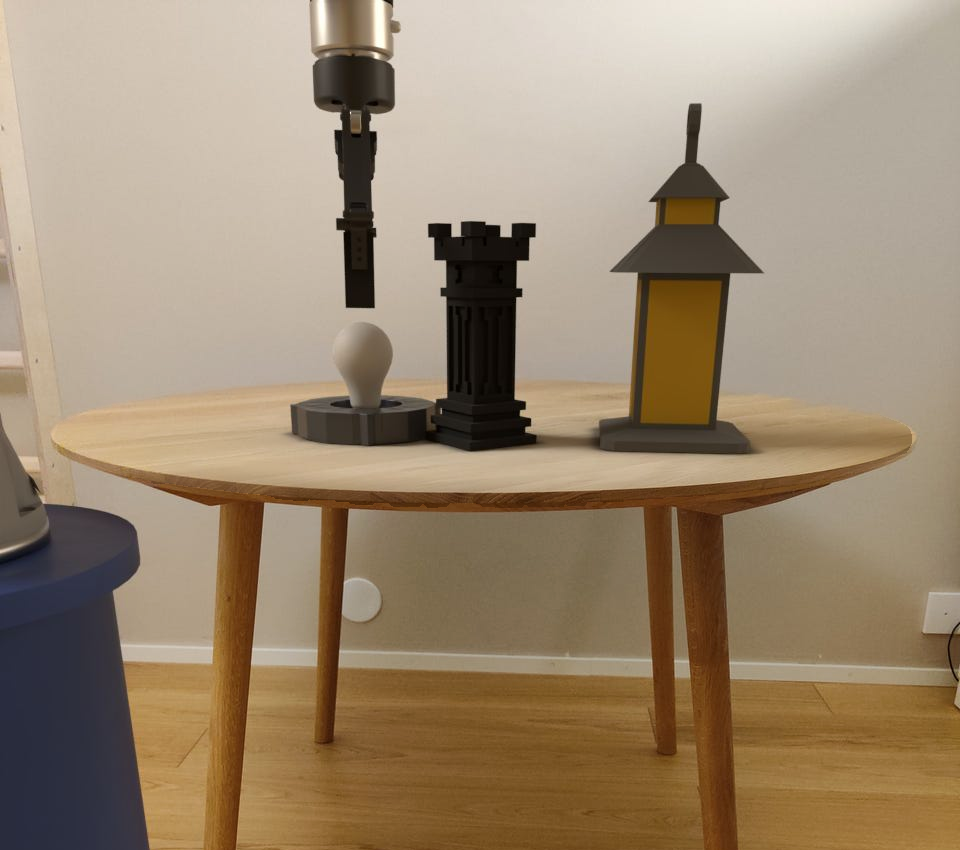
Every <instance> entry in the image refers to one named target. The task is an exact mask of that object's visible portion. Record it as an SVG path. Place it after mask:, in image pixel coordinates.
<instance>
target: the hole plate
mask: <svg viewBox="0 0 960 850" xmlns="http://www.w3.org/2000/svg"><path fill="white" fill-rule="evenodd" d="M289 406H290V421H291V434H292V435H297V436H299V437H300V438H302V439H305V440H308V441H310V442H311V441H312V442H318V443H324V444H336V445H337V444H338V445H351V446H353V445H355V446H356V445H360V446H373V445H389V444H399V443H410V442H414V441H420V440H424V439H425V440H426V431H430V430H436V424H432V423H431V415H437V414H442V408H438V407H436V401H433V400H430V399H425V398H422V397H413V396H405V395H386V394H381V404H380V405H379V408H376V409H354V408H353V407H352V406H351V403H350V396H349V395H336V396H335V395H334V396H325V397H324V396H323V397H317V398H310V399H306V400H303V401H300V402H298V403H291V404H290V405H289Z"/></svg>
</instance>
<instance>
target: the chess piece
mask: <svg viewBox="0 0 960 850" xmlns="http://www.w3.org/2000/svg"><path fill="white" fill-rule="evenodd" d="M452 224H453V223H449V222H448V223H445V222H433V223H431V222H430V223H427V238H429V239H430V238H433V260H434V261H437V262H438V261H439V262H441V261H445V287H440V288H439V289H440V297H443V298H445V304H446V305H445V307H446V308H445V309H446V310H445V313H446V314H445V315H446V317H445V319H446V397H444V398H443V397H441V398H435V402H436V407H438V408H441V414H437V415H431V423H432V424H436V430H430V431H426V438H425V440H428V441H432V442H435V443H439V444H442V445H447V446H449V447H453V448H458V449H461V450H464V451H467V452H472V451H481V450H489V449H498V448H505V447H507V448H508V447H515V446H524V445H530V444H537V443H538V442H537V440H538V439H537V437H538V436H537V435H538V434H536V433H530V432H527V431H526V428H529V427H532V417H528V416H523V415H521V411H526V410H527V401H526V400H520V399H516V353H517V352H516V350H517V349H516V344H517V343H516V342H517V298H523V292H524V291H523V288H522V287H518V284H517V283H518V262H529V261H530V239H533V238H536V237H537V223H536V222H512V223H511V233H510V234H511V236H501V230H502V229H501V228H502V227H501V224H487V221H486V220H485V221H481V220H480V221H479V220H466V221H460V236H452V235H453V234H452V233H453V232H452V231H453V230H452V229H453V227H452V226H453V225H452Z"/></svg>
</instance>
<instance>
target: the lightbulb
mask: <svg viewBox="0 0 960 850" xmlns="http://www.w3.org/2000/svg"><path fill="white" fill-rule="evenodd" d="M393 351H394V350H393V346H392V342H391V340H390V338H389V336H388V335H387V334H386V332H385V331H384V330H383V329H382V328H380V327H379V326H377V325H375V324H374V323H371V322H366V321H357V322H353V323H350V324H348V325H346V326H345V327H344V328H342V329H341V330H340V332H338V334H337V335H336V337H335V339H334V342H333V346H332V359H333V363H334V365H335V367H336V369H337V371H338V372H339V374H340V376H341V378H342V379H343V381H344V383H345V386H346V388H347V391H348V396H350V403H351V406H352V407H353V408H354V409H376V408H379V405H380V404H381V395H382V389H383V386H384V382H385V379H386V377H387V375H388V373H389V371H390V368H391V366H392V363H393V358H394V352H393Z"/></svg>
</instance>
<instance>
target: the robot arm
mask: <svg viewBox="0 0 960 850" xmlns="http://www.w3.org/2000/svg"><path fill="white" fill-rule="evenodd" d="M308 8H309V26H310V27H309V29H310V30H309V31H310V52H311V53H312V54H313V55H314V57H315V58H317V60H315V61H314V64H312V87H313V88H312V89H313V90H312V91H313V104H314V105H315V106H316V107H317V108H318V109H319V110H322V111H324V112H327V113H339V120H340V121H341V129H333V136H334V137H333V138H334V152H335V154H336V156H337V171H338V177H339V179H340V180H341V181H343V210H342V217H336V218H335V229H336V231H341V232H342V233H343V266H344V269H343V270H344V297H345V299H344V301H345V309H376V291H375V247H374V246H375V245H374V244H375V242H374V238H375V239H376V238H377V236H378V235H377V227H374V218H375V211H373V197H372V195H373V193H372V181H373V180H374V178H375V176H374V175H375V173H376V156H377V152H378V131H377V130H371V124H370V123H371V122H372V115H382V114H387V113H389V112H392V111H393V110H394V108H395V106H396V77H395V76H396V75H395V74H396V72H395V71H396V70H395V68H394V67H393V64H391V63H390V62H389V61H390V60H392V58H393V57H394V55H395V53H394V51H395V48H394V46H395V45H394V44H395V43H394V41H395V40H394V34H399V33H400V32H401V30H402V29H401V28H402V26H401V23H400V21H398V20H394V19H393V17H394V0H309V7H308ZM39 494H42V492H41V490H40V489H39V487H38V485H37V483H36V481H35V479H34V478H33V477H32V476H31V475H30V474H29V473H28V472H27V471H26V468H25V467H24V465H23V463H22V461H21V460H20V457H19V456H18V454H17V452H16V450H15V448H14V446H13V445H12V442H11V440H10V439H9V437H8V434H7V433H6V430H5V427H4V425H3V419H2V414H1V413H0V565H3V564H6V563H10V562H13V561H16V560H18V559H21V558H24V557H26V556H29V555H31V554H33V553H35V552H37V551H38V550H40V549H42V548H43V547H44V546H46V545H47V544H48V543H49V541H50V539H51V533H50V526H49V520H48V517H47V516H46V510H45V507H44V505H43V504H44V503H43V501H42V499H41V497H40V495H39Z"/></svg>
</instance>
